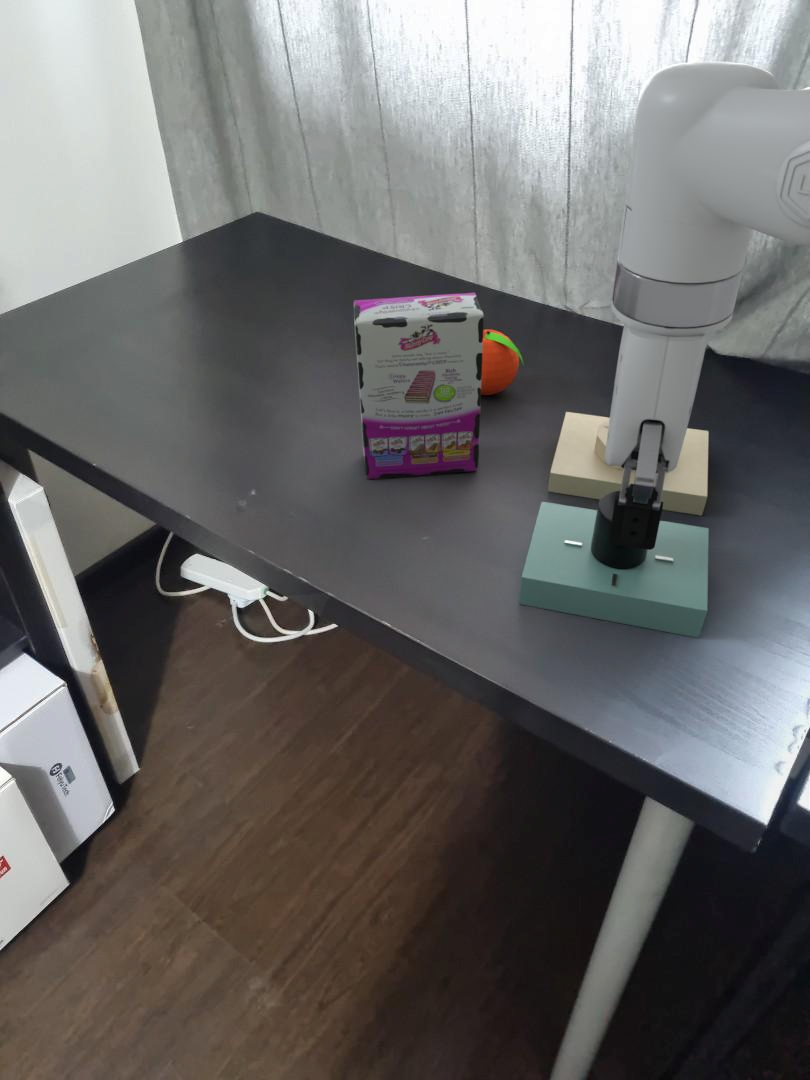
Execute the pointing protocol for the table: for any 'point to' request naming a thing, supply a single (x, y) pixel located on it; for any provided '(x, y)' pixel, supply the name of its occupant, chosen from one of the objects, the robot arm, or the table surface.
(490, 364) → the clementine
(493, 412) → the table surface
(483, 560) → the table surface
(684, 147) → the robot arm
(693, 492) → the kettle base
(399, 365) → the candy bar box
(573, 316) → the table surface
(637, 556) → the knob
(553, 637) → the table surface
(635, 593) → the dial panel
